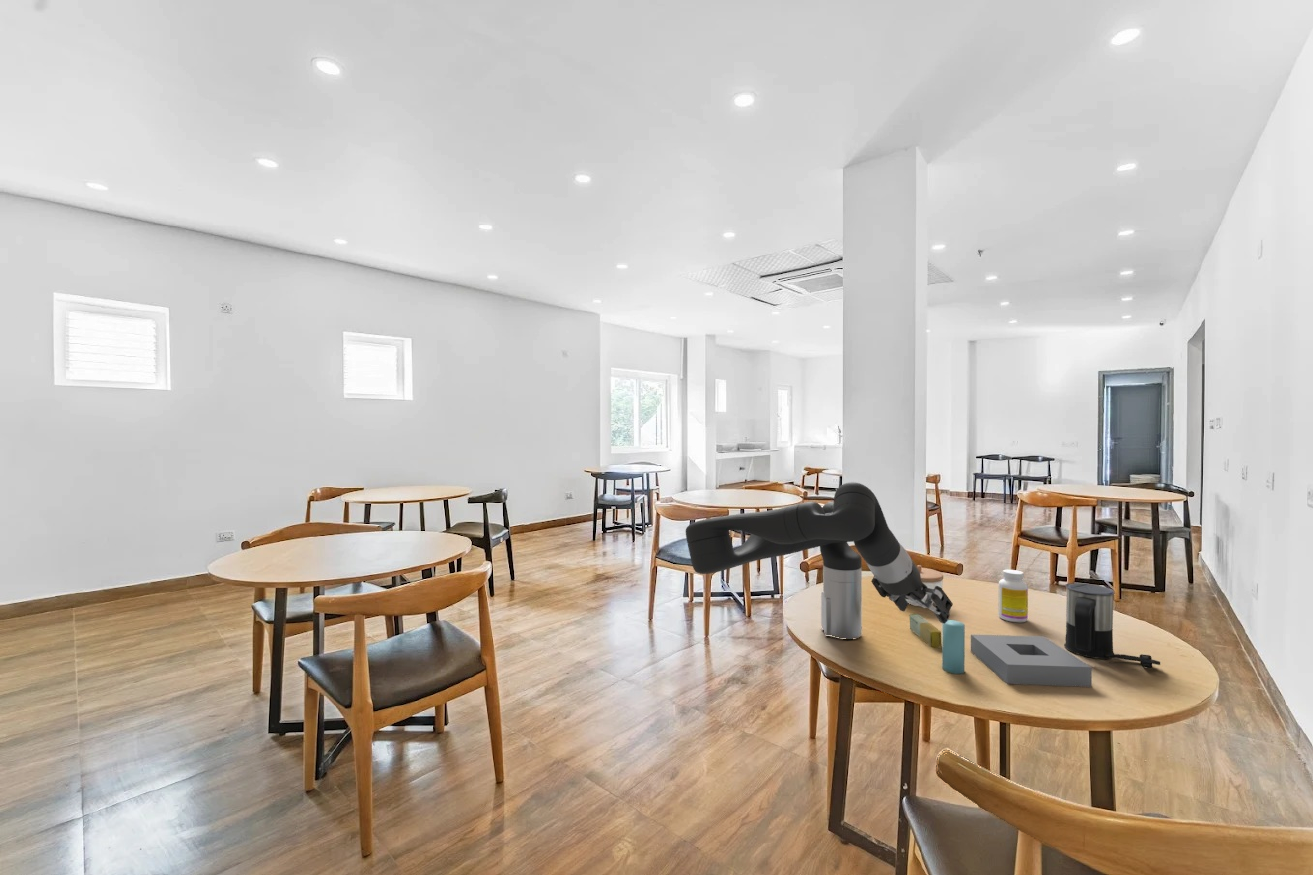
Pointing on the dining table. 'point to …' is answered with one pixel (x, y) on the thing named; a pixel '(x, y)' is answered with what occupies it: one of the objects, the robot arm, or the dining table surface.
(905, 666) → the dining table surface
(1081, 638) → the milk frother
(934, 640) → the medication box
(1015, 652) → the socket block
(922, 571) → the lidded bowl
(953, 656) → the peg
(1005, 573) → the supplement bottle
